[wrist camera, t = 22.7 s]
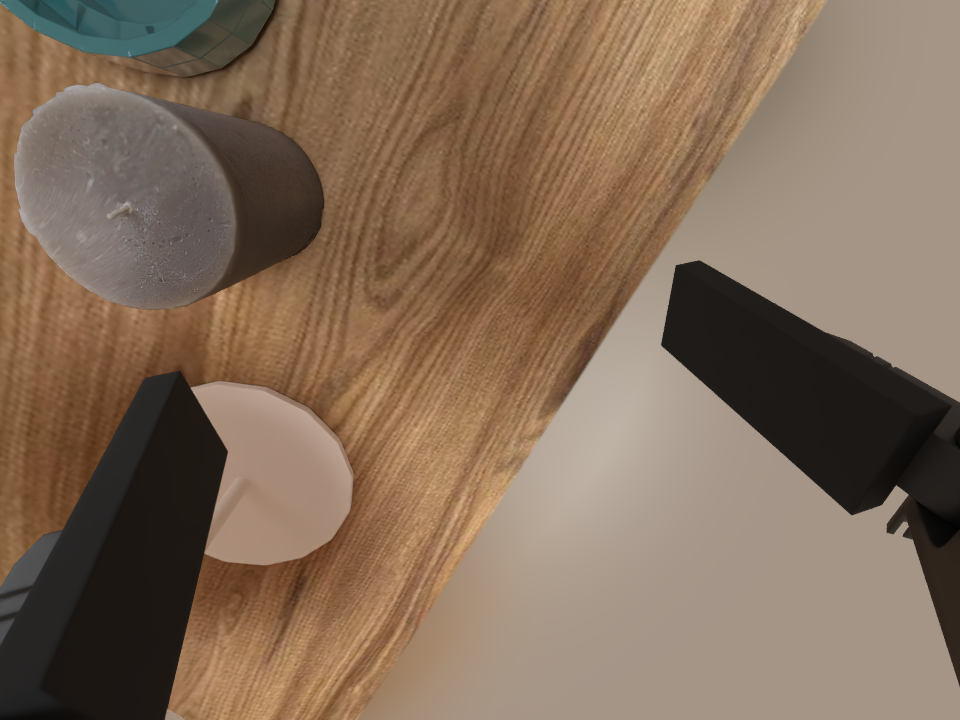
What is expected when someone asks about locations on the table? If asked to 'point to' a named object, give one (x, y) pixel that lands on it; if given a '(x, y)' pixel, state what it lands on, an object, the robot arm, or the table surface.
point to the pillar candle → (160, 195)
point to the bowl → (150, 30)
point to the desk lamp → (273, 477)
